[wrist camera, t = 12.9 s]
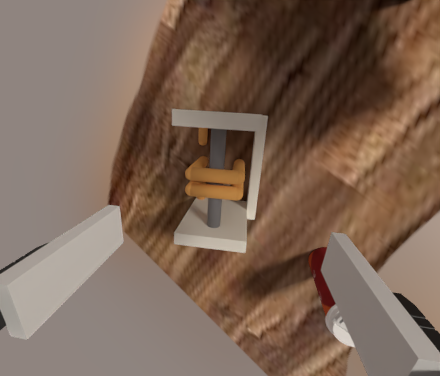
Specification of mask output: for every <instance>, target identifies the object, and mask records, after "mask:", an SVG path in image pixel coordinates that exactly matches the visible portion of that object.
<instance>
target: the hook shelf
mask: <svg viewBox="0 0 440 376" xmlns="http://www.w3.org/2000/svg"><path fill="white" fill-rule="evenodd" d="M267 121H268V116H264V115H262V114H247V113H231V112H214V111H198V110H182V109H172V126H185V127H199V136H198V142H199V144H200V145H206V144H207V137H208V128H211V144H210V167H209V168H212V169H224V162H225V147H226V132H227V129H228V130H242V131H255V133H254V142H253V150H252V159H251V168H250V177H249V186H248V195H247V201H239V200H237V201H235V200H225V199H215V198H204V197H196V199H195V200H194V202H193V203H192V205H191V207H190V208H189V210H188V211H187V213H186V215H185V216H184V218H183V219H182V221H181V222H180V224H179V226H178V227H177V229H176V230H175V232H174V244H178V245H186V246H194V247H202V248H210V249H218V250H226V251H233V252H241V253H245V252H246V243H247V219H251V220H255V213H256V206H257V198H258V190H259V182H260V175H261V167H262V159H263V152H264V144H265V136H266V129H267ZM203 184H206V182H204V183H203ZM209 184H210V185H221V186H223V183H212V182H209Z"/></svg>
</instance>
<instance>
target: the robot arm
mask: <svg viewBox="0 0 440 376" xmlns="http://www.w3.org/2000/svg"><path fill="white" fill-rule="evenodd" d="M123 242H124V241H123V232H122V223H121V214H120V206H113V205H108V206H106V207H105V208H103V209H101V210H100V211H98V212H97V213H95V214H94V215H92V216H90V217H89V218H87V219H86V220H84V221H83V222H81V223H79V224H78V225H76V226H75V227H73V228H72V229H70V230H69V231H67V232H65V233H64V234H62V235H61V236H59V237H58V238H56V239H55V240H53V241H51V242H49V243H47V244H44V245H42V246H39V247H37V248H35V249H34V250H32V251H30V252H29V253H27V254H26V255H25V256H22V257H21V258H19V259H18V260H16V261H15V262H13V263H11V264H9V265H8V266H6V267H5V268H3V269H1V270H0V330H1V329H2V328H3V327H4V326H6V327H7V329H8V332H9V334H10V336H12V337H17V338H22V339H28V338H29V337H30V336H31V335H32V334H33V333H34V332H35V331H36V330H37V329H38V328H39V327H40V326H41V325H42V324H43V323H44V322H45V321H46V320H47V319H48V318H49V317H50V316H51V315H52V314H53V313H54V312H55V311H56V310H57V309H58V308H59V307H60V306H61V305H62V304H63V303H64V302H65V301H66V300H67V299H68V298H69V297H70V296H71V295H72V294H73V293H74V292H75V291H76V290H77V289H78V288H79V287H80V286H81V285H82V284H83V283H84V282H85V281H86V280H87V279H88V278H89V277H90V276H91V275H92V274H93V273H94V272H95V271H96V270H97V269H98V268H99V267H100V266H101V265H102V264H103V263H104V262H105V261H106V260H107V259H108V258H109V257H110V256H111V255H112V254H113V253H114V252H115V251H116V250H117V249H118V247H119V246H121V245H122V244H123ZM321 272H322V274H323V277H324V279H325V281H326V283H327V285H328V288H329V290H330V292H331V294H332V297H333V299H334V301H335V303H336V305H337V308H338V310H339V312H340V314H341V317H342V319H343V321H344V323H345V325H346V328H347V330H348V332H349V334H350V336H351V339H352V341H353V343H354V345H355V348H356V350H357V352H358V354H359V356H360V359H361V361H362V363H363V365H364V367H365V369H366V372H367V374H368V376H440V334H439V333H438V331H436V330H435V329H434V327H433V326H432V324H430V322H429V321H428V320H426V319H425V316H424V315H423V314H422V313H421V312H420V311H419V310H418V308H417V307H416V306H415V305H414V304H413V303H411V302H410V301H409V300H408V299H407V298H405V297H404V296H403V295H401V294H399V293H392V292H391V291H390V289H389V288H388V287H387V286H386V284H385V283H384V282H383V280H382V279H381V278H380V277H379V275H378V274H377V273H376V272H375V270H374V269H373V268H372V267H371V265H370V264H369V263H368V262H367V260H366V259H365V258H364V257H363V255H362V254H361V253H360V251H359V250H358V249H357V248H356V246H355V245H354V244H353V243H352V241H351V240H350V239H349V238H348V236H347V235H346V234H342V233H334V232H332V233H331V236H330V240H329V243H328V247H327V250H326V254H325V257H324V261H323V264H322V267H321Z"/></svg>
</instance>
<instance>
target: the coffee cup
mask: <svg viewBox="0 0 440 376" xmlns="http://www.w3.org/2000/svg"><path fill="white" fill-rule="evenodd" d="M326 250H327V247H322V248H318V249H316V250H314V251H313V252H312V253H311V254H310V256H309V265H310V269H311V272H312V275H313V278H314V281H315V284H316V288H317V291H318V294H319V297H320V300H321V303H322V306H323V309H324V312H325V315H326V325H327V327H328V329H329V330H330V332H331V333H333V334H334V336H335V337H336V338H337V339H338V340H339V341H340V342H342V343H343V344H346V345H348V346H352V347H355V345H354V343H353V341H352V339H351V336H350V334H349V332H348V330H347V328H346V325H345V323H344V321H343V319H342V317H341V314H340V312H339V310H338V308H337V305H336V303H335V301H334V299H333V297H332V294H331V292H330V290H329V288H328V285H327V283H326V281H325V279H324V277H323V274H322V272H321V267H322V264H323V261H324V257H325V254H326Z"/></svg>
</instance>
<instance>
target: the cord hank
mask: <svg viewBox="0 0 440 376" xmlns="http://www.w3.org/2000/svg"><path fill="white" fill-rule="evenodd" d="M208 163H209V160H208V158H207V157H205V156H201V157H199V158H198V159H197V160H196V161H195V162H194V163H193V164H192V165H191V166H190V167H189V168H187V170H186V171H185V176H186V178H187V179H188V180H191V181H190V182H189V183H188V184H187V185H186V187H185V192H186V194H187V195H189V196H194V197H204V198H215V199H225V200H235V201H237V200H240V199H241V198H242V197H243V182H244V180H245V163H244V161H243V160H242V159H237V160H235V162H234V165H233V170H224V169H212V168H205V167H206V166H207V165H208ZM204 182H212V183H223V184H231V186H221V185H210V184H203V183H204Z"/></svg>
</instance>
